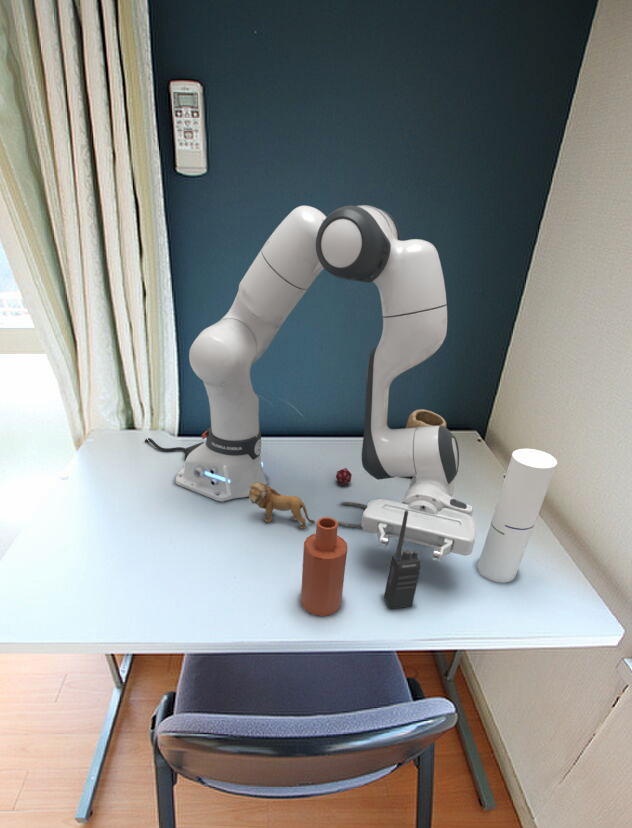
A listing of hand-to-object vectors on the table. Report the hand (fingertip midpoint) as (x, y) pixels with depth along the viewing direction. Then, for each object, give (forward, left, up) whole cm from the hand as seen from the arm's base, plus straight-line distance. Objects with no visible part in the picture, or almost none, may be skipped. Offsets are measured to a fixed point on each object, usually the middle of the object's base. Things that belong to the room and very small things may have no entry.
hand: (409, 550), depth 88 cm
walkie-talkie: (0, -1, -11) cm, 11 cm away
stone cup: (-8, +53, -11) cm, 54 cm away
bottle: (-13, -7, -11) cm, 18 cm away
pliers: (-10, +25, -11) cm, 29 cm away
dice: (-22, +36, -11) cm, 43 cm away
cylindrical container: (+16, +16, -11) cm, 25 cm away
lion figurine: (-30, +14, -11) cm, 35 cm away
